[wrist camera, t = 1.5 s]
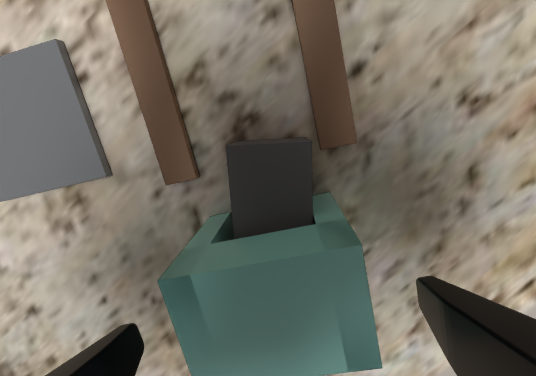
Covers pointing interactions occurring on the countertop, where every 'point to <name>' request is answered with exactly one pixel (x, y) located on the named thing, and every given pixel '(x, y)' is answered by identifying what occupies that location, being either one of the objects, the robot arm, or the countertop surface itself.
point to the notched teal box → (273, 299)
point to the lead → (270, 185)
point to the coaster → (44, 124)
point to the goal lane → (165, 103)
